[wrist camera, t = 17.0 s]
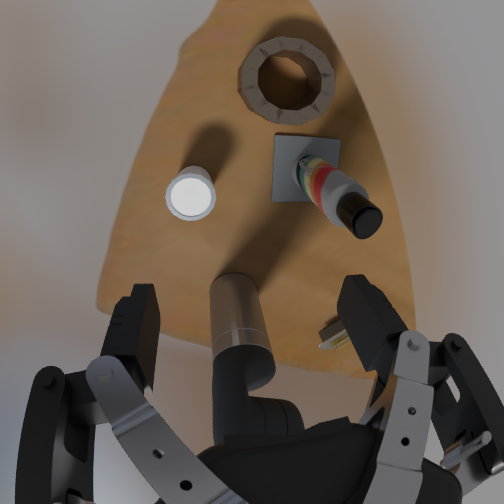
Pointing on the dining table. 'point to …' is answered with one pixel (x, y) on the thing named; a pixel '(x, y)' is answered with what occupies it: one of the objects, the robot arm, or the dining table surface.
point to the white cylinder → (191, 194)
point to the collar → (313, 67)
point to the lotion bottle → (337, 196)
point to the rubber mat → (288, 153)
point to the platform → (333, 336)
